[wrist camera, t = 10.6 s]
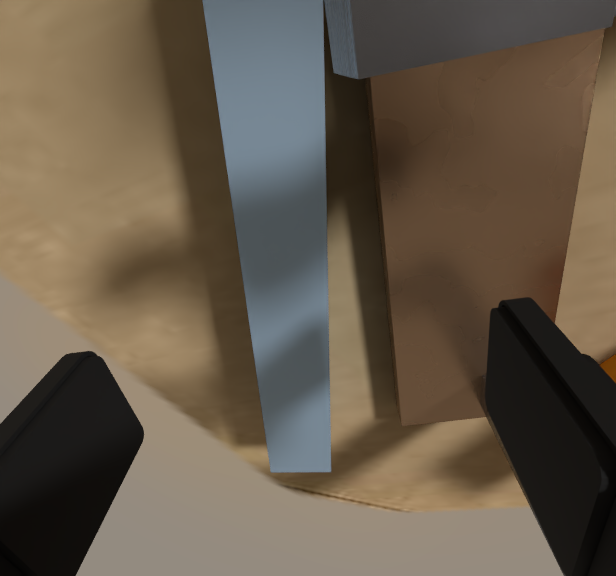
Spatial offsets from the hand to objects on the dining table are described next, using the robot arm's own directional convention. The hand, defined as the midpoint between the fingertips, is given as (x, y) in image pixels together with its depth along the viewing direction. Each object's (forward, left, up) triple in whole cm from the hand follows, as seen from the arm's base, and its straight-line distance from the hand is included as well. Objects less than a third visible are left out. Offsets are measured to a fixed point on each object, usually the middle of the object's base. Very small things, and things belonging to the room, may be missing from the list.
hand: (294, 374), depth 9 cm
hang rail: (+1, 0, -9) cm, 9 cm away
